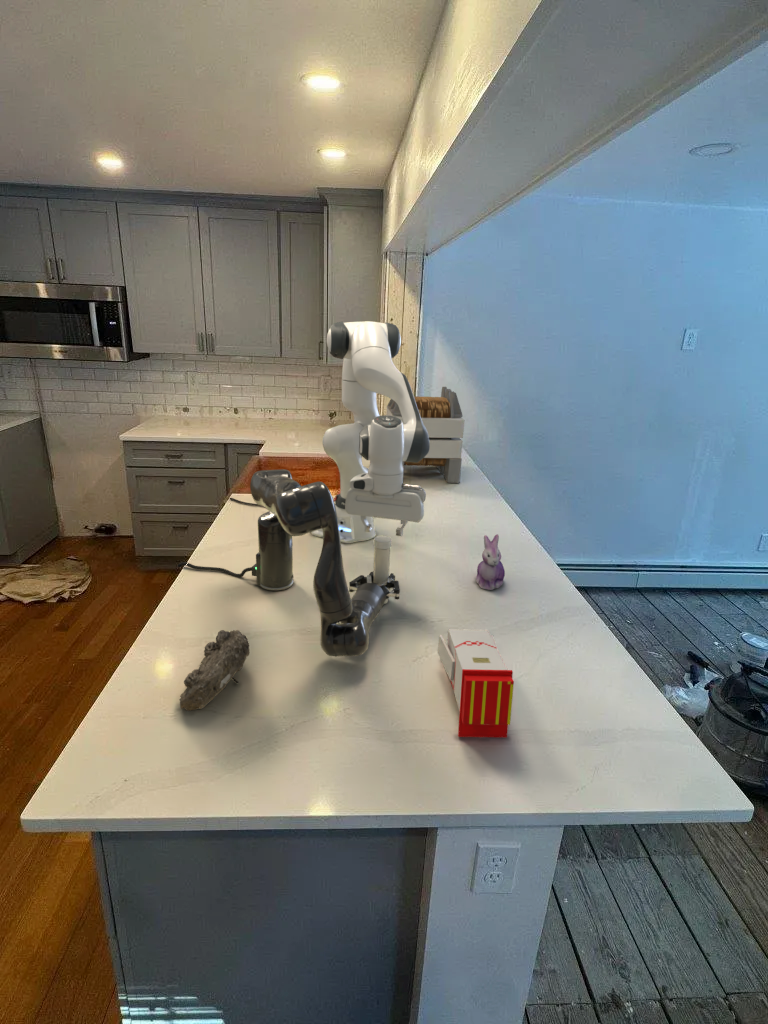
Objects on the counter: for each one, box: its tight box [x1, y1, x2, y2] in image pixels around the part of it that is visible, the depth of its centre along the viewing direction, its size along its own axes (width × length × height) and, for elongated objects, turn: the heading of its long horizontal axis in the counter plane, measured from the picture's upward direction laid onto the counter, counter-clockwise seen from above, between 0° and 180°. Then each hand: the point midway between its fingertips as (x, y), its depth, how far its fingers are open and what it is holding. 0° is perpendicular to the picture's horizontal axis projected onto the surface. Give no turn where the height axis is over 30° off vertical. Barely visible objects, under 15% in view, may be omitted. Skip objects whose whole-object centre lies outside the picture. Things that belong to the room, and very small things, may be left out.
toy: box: [437, 628, 515, 738], centre depth 117 cm, size 12×13×30 cm
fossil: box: [179, 629, 250, 712], centre depth 117 cm, size 22×10×15 cm
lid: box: [373, 535, 393, 549], centre depth 148 cm, size 5×5×2 cm
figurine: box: [475, 534, 506, 591], centre depth 164 cm, size 9×10×15 cm
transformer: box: [385, 386, 465, 484], centre depth 268 cm, size 34×33×41 cm
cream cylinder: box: [372, 546, 391, 605], centre depth 151 cm, size 4×4×18 cm
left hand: (383, 575), depth 154 cm, fingers closed on cream cylinder, 4 cm apart
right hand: (383, 533), depth 147 cm, fingers open, 7 cm apart
